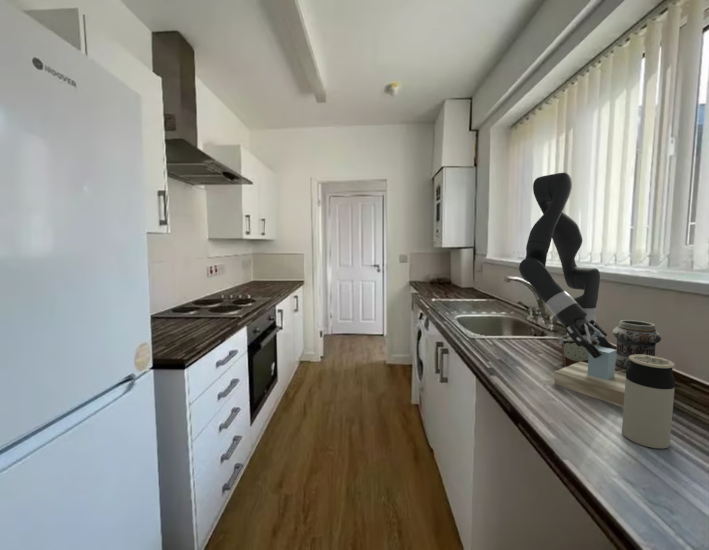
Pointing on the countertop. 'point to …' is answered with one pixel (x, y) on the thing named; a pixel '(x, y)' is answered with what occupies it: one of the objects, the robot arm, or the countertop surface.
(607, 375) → the blue-grey block
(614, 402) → the birch base
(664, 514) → the countertop surface
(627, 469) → the countertop surface
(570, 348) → the food container
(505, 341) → the countertop surface
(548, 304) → the robot arm
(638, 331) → the apothecary jar
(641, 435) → the travel mug
